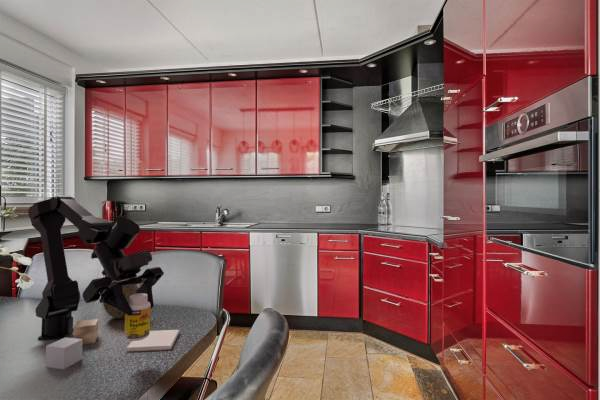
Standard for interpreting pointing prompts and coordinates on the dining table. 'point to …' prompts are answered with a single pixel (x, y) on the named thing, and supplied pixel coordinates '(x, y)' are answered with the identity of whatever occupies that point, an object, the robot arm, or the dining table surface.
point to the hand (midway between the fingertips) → (142, 311)
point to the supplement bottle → (138, 318)
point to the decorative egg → (127, 293)
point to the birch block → (86, 331)
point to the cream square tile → (155, 341)
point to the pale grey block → (63, 353)
